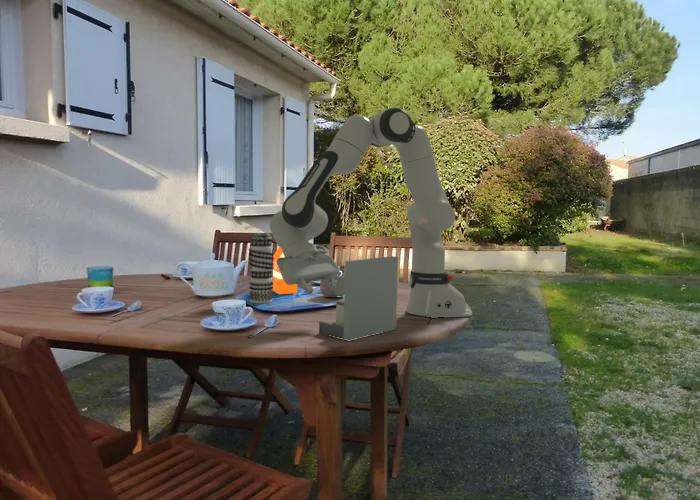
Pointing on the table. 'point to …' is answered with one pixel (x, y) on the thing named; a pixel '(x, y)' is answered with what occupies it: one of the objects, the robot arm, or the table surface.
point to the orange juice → (278, 281)
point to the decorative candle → (261, 268)
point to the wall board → (367, 299)
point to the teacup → (337, 291)
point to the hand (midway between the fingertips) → (322, 290)
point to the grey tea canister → (340, 313)
